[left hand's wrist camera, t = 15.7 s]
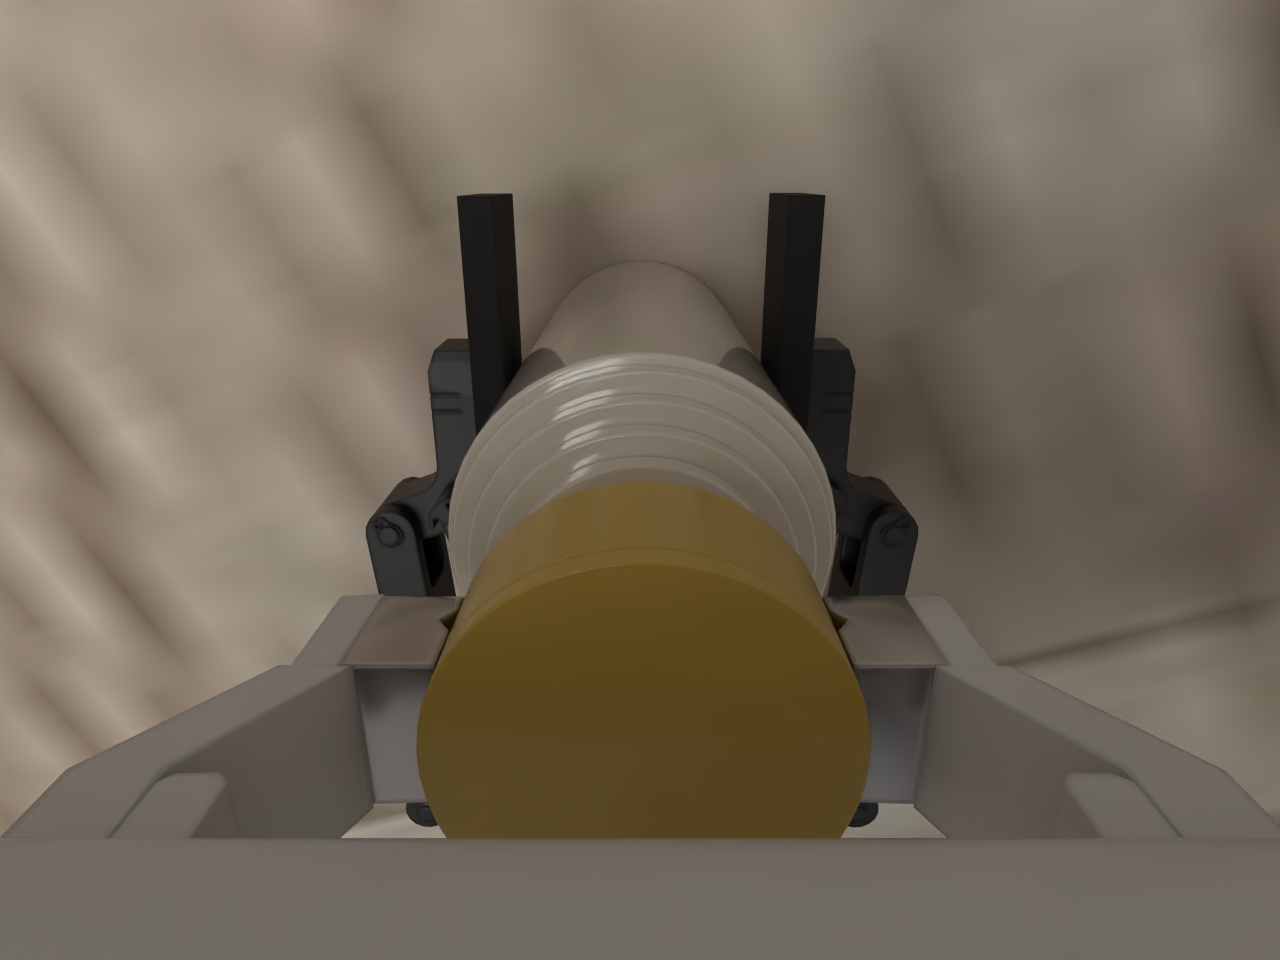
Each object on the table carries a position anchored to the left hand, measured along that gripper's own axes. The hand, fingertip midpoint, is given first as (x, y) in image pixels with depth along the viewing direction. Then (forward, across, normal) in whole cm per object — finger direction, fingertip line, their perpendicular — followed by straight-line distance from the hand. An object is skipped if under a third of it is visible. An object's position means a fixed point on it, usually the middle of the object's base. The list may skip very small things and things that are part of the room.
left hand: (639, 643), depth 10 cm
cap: (-2, 0, 0) cm, 2 cm away
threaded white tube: (+16, 0, 0) cm, 16 cm away
